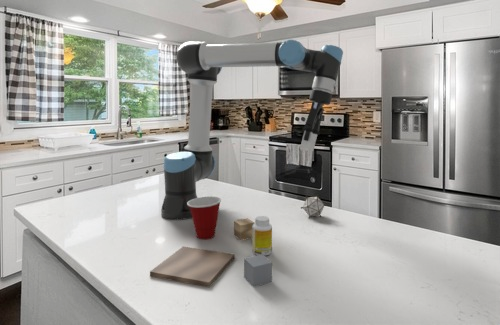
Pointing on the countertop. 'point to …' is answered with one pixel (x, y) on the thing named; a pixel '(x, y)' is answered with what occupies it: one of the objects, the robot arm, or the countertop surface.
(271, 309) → the countertop surface
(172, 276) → the walnut board
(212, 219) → the plastic cup
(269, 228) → the supplement bottle
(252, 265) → the slate block
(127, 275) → the countertop surface
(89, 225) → the countertop surface
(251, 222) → the oak block
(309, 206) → the game die
